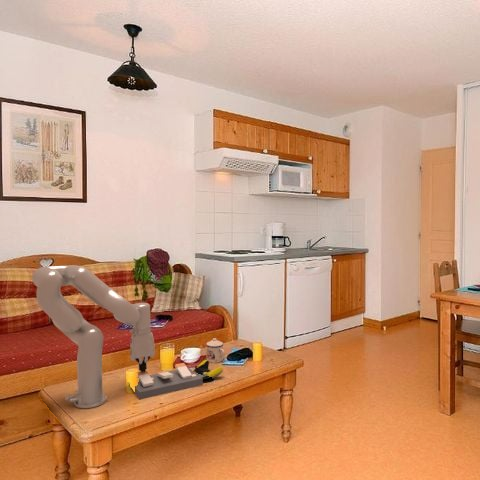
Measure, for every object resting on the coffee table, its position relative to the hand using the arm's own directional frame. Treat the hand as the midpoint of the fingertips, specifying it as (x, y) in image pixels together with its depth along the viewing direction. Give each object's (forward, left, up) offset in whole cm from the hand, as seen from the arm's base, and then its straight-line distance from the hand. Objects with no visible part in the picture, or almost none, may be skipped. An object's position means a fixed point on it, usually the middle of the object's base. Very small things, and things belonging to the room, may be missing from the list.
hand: (142, 371), depth 181 cm
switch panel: (+9, -4, -7) cm, 12 cm away
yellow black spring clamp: (+30, -3, -7) cm, 31 cm away
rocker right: (+18, -4, -2) cm, 18 cm away
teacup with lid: (+44, +13, -7) cm, 46 cm away
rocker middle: (+9, -4, -2) cm, 10 cm away
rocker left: (0, -4, -2) cm, 4 cm away
